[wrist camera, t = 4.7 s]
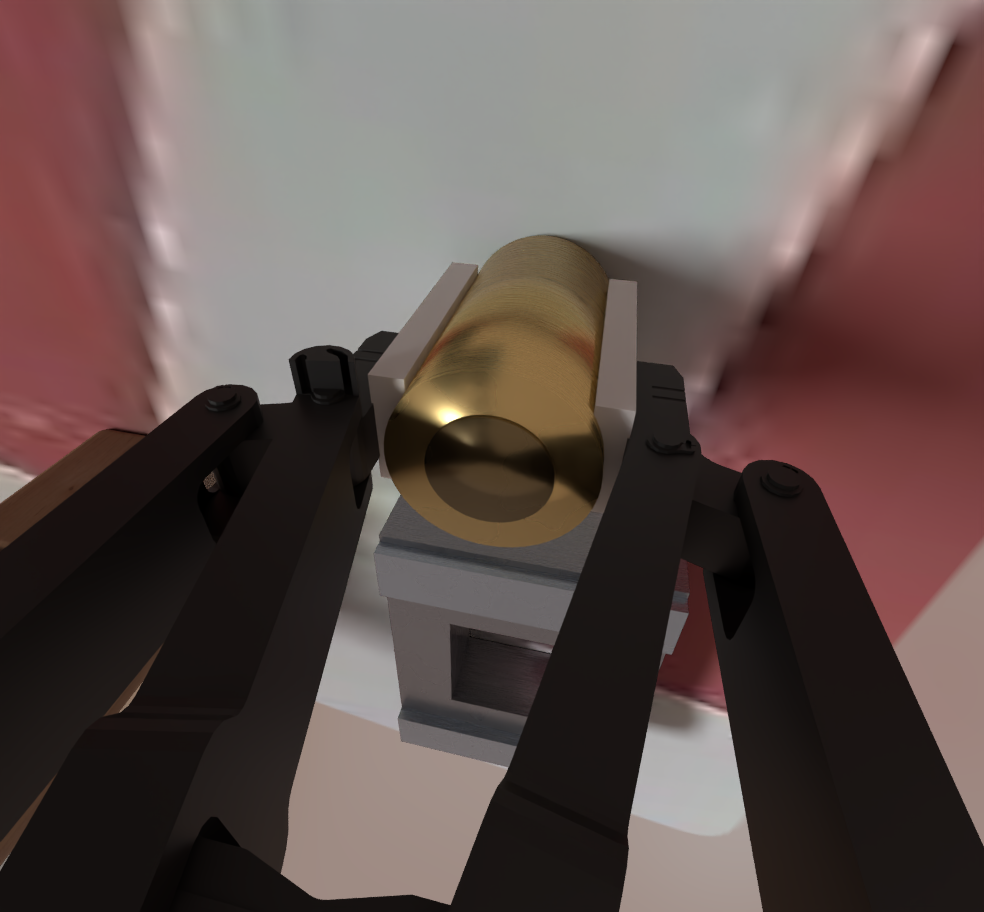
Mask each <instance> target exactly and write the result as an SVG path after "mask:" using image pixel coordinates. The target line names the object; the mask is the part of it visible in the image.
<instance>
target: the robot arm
mask: <svg viewBox="0 0 984 912" xmlns="http://www.w3.org/2000/svg"><path fill="white" fill-rule="evenodd" d="M477 275H478V265H473V264H464V263H454V262H452V264H451V265H450V266H449V268H448V269H447V270H446V272H445V273H444V274H443V275H442V277H441V278H440V279H439V281H438V282H437V283H436V285H435V286H434V287H433V289H432V290H431V291H430V293H429V294H428V295H427V297H426V298H425V299H424V301H423V302H422V303H421V305H420V306H419V307H418V309H417V310H416V311H415V313H414V314H413V315H412V316H411V318H410V319H409V320H408V322H407V323H406V324H405V326H404V327H403V328H402V330H401V331H400V332H399V333H394V332H386V331H380V332H378V333H377V334H375V335H373V336H371V337H369V338H367V339H366V340H365V341H364V342H363V343H362V345H361V346H360V347H359V348H358V351H356V352H355V353H354V354H352V353H351V351H350V350H347V349H345V348H342V347H338V346H331V345H326V346H315V347H311V348H307V349H304V350H301V351H299V352H297V353H295V354H294V355H293V356H292V357H291V358H290V359H289V363H290V368H291V372H292V376H293V381H294V385H295V389H296V394H297V395H296V396H295V398H294V400H293V402H292V403H281V404H262V405H260V402H259V399H258V395H257V393H256V392H255V391H254V390H253V389H252V388H250V387H247V386H244V385H232V384H229V385H221V386H216V387H215V388H212V389H209V390H206V391H204V392H202V393H201V394H199V395H197V396H196V397H194V398H193V399H192V400H191V401H189V402H188V403H187V404H186V405H184V406H183V407H182V408H181V409H179V410H178V411H177V412H176V413H174V414H173V415H172V416H170V417H169V418H168V419H167V420H165V421H164V422H163V423H162V424H160V425H159V426H158V427H157V428H155V429H154V430H153V431H152V432H150V433H149V434H148V435H146V436H145V437H144V438H143V439H141V440H140V441H139V442H138V443H136V444H135V445H134V446H133V447H131V448H130V449H129V450H128V451H126V452H125V453H124V454H123V455H121V456H120V457H119V458H117V459H116V460H115V461H114V462H112V463H111V464H110V465H109V466H107V467H106V468H105V469H104V470H102V471H101V472H100V473H99V474H97V475H96V476H95V477H93V478H92V479H91V480H90V481H88V482H87V483H86V484H85V485H83V486H82V487H81V488H80V489H78V490H77V491H76V492H75V493H73V494H72V495H71V496H70V497H68V498H67V499H66V500H64V501H63V502H62V503H61V504H59V505H58V506H57V507H56V508H54V509H53V510H52V511H51V512H49V513H48V514H47V515H46V516H44V517H43V518H42V519H40V520H39V521H38V522H37V523H35V524H34V525H33V526H32V527H30V528H29V529H28V530H27V531H25V532H24V533H23V534H22V535H20V536H19V537H18V538H17V539H15V540H14V541H13V542H11V543H10V544H9V545H8V546H6V547H5V548H4V549H3V550H1V551H0V842H1V841H2V840H3V839H4V837H5V836H6V835H7V834H8V833H9V831H10V830H11V829H12V828H13V827H14V825H15V824H16V823H17V822H18V820H19V819H20V818H21V817H22V816H23V814H24V813H25V812H26V811H27V809H28V808H29V807H30V806H31V804H32V803H33V802H34V801H35V800H36V798H37V797H38V796H39V795H40V793H41V792H42V791H43V790H44V789H45V787H46V786H47V785H48V784H49V782H50V781H51V780H52V779H53V778H54V776H55V775H56V774H57V775H56V776H55V778H54V780H53V781H52V783H51V785H50V787H49V788H48V790H47V792H46V793H45V795H44V797H43V799H42V800H41V802H40V804H39V805H38V807H37V809H36V811H35V812H34V814H33V816H32V817H31V819H30V821H29V823H28V824H27V826H26V828H25V829H24V831H23V833H22V835H21V836H20V838H19V840H18V841H17V843H16V845H15V847H14V848H13V850H12V852H11V853H10V856H9V857H8V859H7V861H6V862H5V864H4V866H3V867H2V869H1V871H0V912H619V909H620V903H621V898H622V892H623V886H624V881H625V874H626V869H627V860H628V850H629V846H628V838H627V835H628V826H629V820H630V814H631V809H632V804H633V799H634V794H635V789H636V783H637V778H638V773H639V768H640V763H641V758H642V753H643V748H644V743H645V738H646V732H647V727H648V722H649V717H650V712H651V707H652V702H653V697H654V692H655V687H656V681H657V676H658V671H659V666H660V661H661V656H662V651H663V646H664V641H665V636H666V630H667V625H668V620H669V615H670V610H671V605H672V600H673V595H674V590H675V585H676V580H677V574H678V569H679V564H680V559H683V560H686V561H688V562H690V563H693V564H695V565H697V566H700V567H702V568H703V575H704V581H705V587H706V592H707V598H708V604H709V609H710V615H711V621H712V626H713V632H714V637H715V643H716V649H717V654H718V660H719V666H720V671H721V677H722V683H723V688H724V694H725V700H726V705H727V711H728V717H729V722H730V728H731V734H732V739H733V745H734V750H735V756H736V762H737V767H738V773H739V779H740V784H741V790H742V796H743V801H744V807H745V813H746V818H747V824H748V829H749V835H750V841H751V846H752V852H753V858H754V863H755V869H756V874H757V880H758V886H759V892H760V897H761V902H762V908H763V912H984V846H983V844H982V842H981V839H980V838H979V835H978V833H977V831H976V829H975V827H974V824H973V822H972V820H971V818H970V815H969V814H968V811H967V809H966V807H965V804H964V803H963V800H962V798H961V796H960V794H959V791H958V789H957V787H956V785H955V783H954V780H953V778H952V776H951V774H950V772H949V769H948V767H947V765H946V763H945V761H944V758H943V756H942V754H941V752H940V750H939V747H938V745H937V743H936V741H935V739H934V736H933V734H932V732H931V731H930V728H929V726H928V723H927V721H926V719H925V717H924V715H923V712H922V710H921V708H920V706H919V704H918V701H917V699H916V697H915V695H914V693H913V691H912V688H911V686H910V684H909V682H908V680H907V677H906V675H905V673H904V671H903V669H902V667H901V664H900V662H899V660H898V658H897V656H896V653H895V651H894V649H893V647H892V644H891V642H890V640H889V638H888V636H887V633H886V631H885V629H884V627H883V625H882V622H881V620H880V618H879V616H878V614H877V612H876V609H875V607H874V605H873V603H872V601H871V598H870V596H869V594H868V592H867V590H866V587H865V585H864V583H863V581H862V579H861V576H860V574H859V572H858V570H857V568H856V565H855V563H854V561H853V559H852V557H851V555H850V552H849V550H848V548H847V546H846V544H845V541H844V539H843V537H842V535H841V533H840V530H839V528H838V526H837V524H836V522H835V519H834V517H833V515H832V513H831V511H830V509H829V506H828V504H827V502H826V500H825V498H824V495H823V493H822V491H821V489H820V487H819V486H818V484H817V483H816V482H815V480H814V479H813V478H812V477H810V476H809V475H808V474H806V473H805V472H804V471H802V470H801V469H799V468H796V467H795V466H792V465H790V464H787V463H783V462H779V461H774V460H758V461H755V462H752V463H749V464H748V465H747V466H746V467H745V468H744V470H743V471H742V473H740V472H737V471H735V470H732V469H729V468H726V467H723V466H721V465H719V464H716V463H714V462H712V461H710V460H709V459H707V458H706V457H704V456H703V455H702V454H701V447H700V444H699V442H698V441H697V440H696V439H695V437H694V436H692V435H691V434H690V429H689V421H688V413H687V405H686V397H685V392H684V391H685V388H684V380H683V377H682V376H681V375H680V373H679V372H678V371H677V370H676V369H675V367H674V366H671V365H663V364H655V363H647V362H639V361H637V282H636V281H626V280H617V279H610V280H609V286H608V292H607V301H606V310H605V319H604V328H603V337H602V346H601V355H600V364H599V373H598V382H597V390H596V399H595V408H594V416H595V418H596V420H597V422H598V425H599V427H600V430H601V434H602V438H603V443H604V465H603V478H602V487H601V490H600V493H599V497H598V499H597V501H596V503H595V505H594V507H593V509H592V510H591V511H592V512H598V513H603V515H602V518H601V521H600V523H599V526H598V529H597V531H596V534H595V537H594V540H593V542H592V545H591V548H590V550H589V553H588V556H587V558H586V561H585V564H584V566H583V569H582V572H581V575H580V577H579V580H578V583H577V585H576V588H575V591H574V593H573V596H572V599H571V601H570V604H569V607H568V610H567V612H566V615H565V618H564V620H563V623H562V626H561V628H560V631H559V634H558V636H557V639H556V642H555V645H554V647H553V650H552V653H551V655H550V658H549V661H548V663H547V666H546V669H545V671H544V674H543V677H542V680H541V682H540V685H539V688H538V690H537V693H536V696H535V698H534V701H533V704H532V706H531V709H530V712H529V715H528V717H527V720H526V723H525V725H524V728H523V731H522V733H521V736H520V739H519V741H518V744H517V747H516V750H515V752H514V755H513V758H512V760H511V763H510V765H509V768H508V770H507V773H506V775H505V777H504V779H503V780H502V781H501V783H500V784H499V785H498V787H497V789H496V791H495V793H494V795H493V797H492V799H491V801H490V804H489V806H488V809H487V811H486V814H485V817H484V819H483V821H482V824H481V827H480V829H479V832H478V834H477V837H476V840H475V842H474V845H473V848H472V850H471V853H470V856H469V858H468V861H467V864H466V866H465V869H464V871H463V874H462V877H461V879H460V882H459V884H458V887H457V890H456V892H455V895H454V898H453V900H452V903H451V905H448V904H444V903H440V902H437V901H433V900H429V899H426V898H422V897H419V896H415V895H400V896H383V897H367V898H352V899H336V900H320V899H316V898H314V897H312V896H310V895H309V894H307V893H306V892H305V891H303V890H302V889H301V888H299V887H298V886H296V885H295V884H294V883H292V882H291V881H290V880H288V879H287V878H286V877H284V876H283V875H281V874H280V873H281V869H282V866H283V860H284V856H285V851H286V845H287V837H288V807H289V798H290V794H291V789H292V785H293V781H294V777H295V774H296V770H297V766H298V763H299V759H300V755H301V752H302V748H303V744H304V741H305V737H306V733H307V729H308V725H309V722H310V718H311V715H312V711H313V707H314V704H315V700H316V696H317V692H318V689H319V685H320V681H321V678H322V674H323V670H324V667H325V663H326V659H327V655H328V652H329V648H330V644H331V641H332V637H333V633H334V630H335V626H336V622H337V618H338V615H339V611H340V607H341V604H342V600H343V596H344V593H345V589H346V585H347V581H348V578H349V574H350V570H351V567H352V563H353V559H354V556H355V552H356V548H357V544H358V541H359V537H360V533H361V530H362V526H363V522H364V519H365V515H366V511H367V507H368V504H369V500H370V496H371V493H372V489H373V484H372V475H371V470H372V469H373V467H374V465H375V464H376V462H377V460H378V458H379V465H380V473H381V477H385V478H391V477H390V474H389V471H388V469H387V466H386V461H385V456H384V435H385V430H386V426H387V423H388V420H389V418H390V416H391V414H392V412H393V410H394V409H395V407H396V406H397V404H398V402H399V401H400V399H401V397H402V396H403V394H404V393H405V391H406V389H407V388H408V386H409V385H410V383H411V381H412V380H413V378H414V377H415V375H416V373H417V372H418V370H419V369H420V367H421V365H422V364H423V362H424V361H425V359H426V357H427V356H428V354H429V353H430V351H431V349H432V348H433V346H434V344H435V343H436V341H437V340H438V338H439V336H440V335H441V333H442V332H443V330H444V328H445V327H446V325H447V324H448V322H449V320H450V319H451V317H452V316H453V314H454V312H455V311H456V309H457V308H458V306H459V304H460V303H461V301H462V300H463V298H464V296H465V295H466V293H467V291H468V290H469V288H470V287H471V285H472V283H473V282H474V280H475V279H476V277H477ZM212 471H213V473H214V476H215V479H216V481H217V482H216V483H215V484H214V485H213V486H212V487H211V488H209V489H208V490H207V489H206V487H205V485H204V483H203V480H204V479H205V478H206V477H207V476H208V475H209V474H210V473H211V472H212ZM162 644H163V645H162ZM161 645H162V647H161V649H160V651H159V653H158V654H157V656H156V658H155V660H154V662H153V664H152V666H151V668H150V669H149V671H148V673H147V675H146V677H145V679H144V681H143V683H142V684H141V686H140V689H139V690H138V692H137V694H136V696H135V697H134V699H133V700H132V702H131V703H130V704H129V706H128V707H126V708H125V709H124V710H123V711H122V712H120V713H116V714H112V715H108V716H104V715H105V714H106V713H107V711H108V710H109V709H110V708H111V706H112V705H113V704H114V703H115V702H116V700H117V699H118V698H119V697H120V695H121V694H122V693H123V692H124V691H125V689H126V688H127V687H128V686H129V684H130V683H131V682H132V681H133V680H134V678H135V677H136V676H137V675H138V673H139V672H140V671H141V670H142V669H143V667H144V666H145V665H146V664H147V662H148V661H149V660H150V659H151V657H152V656H153V655H154V654H155V653H156V651H157V650H158V649H159V648H160V646H161ZM103 716H104V717H103Z"/></svg>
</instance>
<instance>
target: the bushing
mask: <svg viewBox="0 0 984 912" xmlns="http://www.w3.org/2000/svg"><path fill="white" fill-rule="evenodd" d="M608 286H609V279H608V277H607V275H606V273H605V271H604V270H603V268H602V267H601V265H600V264H599V263H598V262H597V261H596V259H595V258H594V257H593V256H592V255H590V254H589V253H588V252H587V251H586V250H584V249H583V248H581V247H580V246H578V245H576V244H574V243H572V242H570V241H568V240H565V239H561V238H558V237H552V236H531V237H525V238H521V239H518V240H515V241H513V242H511V243H509V244H507V245H505V246H503V247H502V248H500V249H499V250H498V251H496V252H495V253H494V254H493V255H492V256H491V257H490V258H489V259H488V260H487V262H486V263H485V264H484V266H483V267H482V269H481V270H480V272H479V273H478V275H477V277H476V279H475V280H474V282H473V283H472V285H471V287H470V288H469V290H468V291H467V293H466V295H465V296H464V298H463V300H462V301H461V303H460V304H459V306H458V308H457V309H456V311H455V312H454V314H453V316H452V317H451V319H450V320H449V322H448V324H447V325H446V327H445V328H444V330H443V332H442V333H441V335H440V336H439V338H438V340H437V341H436V343H435V344H434V346H433V348H432V349H431V351H430V353H429V354H428V356H427V357H426V359H425V361H424V362H423V364H422V365H421V367H420V369H419V370H418V372H417V373H416V375H415V377H414V378H413V380H412V381H411V383H410V385H409V386H408V388H407V389H406V391H405V393H404V394H403V396H402V397H401V399H400V401H399V402H398V404H397V406H396V407H395V409H394V410H393V412H392V414H391V416H390V418H389V420H388V423H387V426H386V430H385V435H384V456H385V461H386V466H387V469H388V471H389V474H390V477H391V479H392V481H393V483H394V485H395V486H396V488H397V489H398V491H399V492H400V494H401V495H402V497H403V498H404V499H405V500H406V501H407V503H408V504H409V505H410V506H411V507H412V508H413V509H414V510H415V511H416V512H417V513H418V514H420V515H421V516H422V517H424V518H425V519H426V520H427V521H429V522H430V523H432V524H433V525H435V526H437V527H438V528H440V529H442V530H444V531H446V532H448V533H449V534H452V535H454V536H457V537H459V538H461V539H464V540H468V541H471V542H474V543H478V544H483V545H488V546H496V547H526V546H532V545H538V544H541V543H545V542H548V541H551V540H553V539H556V538H558V537H560V536H562V535H564V534H566V533H568V532H569V531H571V530H572V529H574V528H575V527H576V526H578V525H579V524H580V523H581V522H582V521H583V520H584V519H585V518H586V517H587V516H588V514H589V513H590V511H591V510H592V509H593V507H594V505H595V503H596V501H597V499H598V497H599V493H600V490H601V487H602V478H603V465H604V443H603V438H602V434H601V430H600V427H599V425H598V422H597V420H596V418H595V416H594V408H595V399H596V390H597V382H598V373H599V364H600V355H601V346H602V337H603V328H604V319H605V310H606V301H607V292H608Z"/></svg>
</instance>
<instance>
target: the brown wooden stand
mask: <svg viewBox="0 0 984 912" xmlns="http://www.w3.org/2000/svg"><path fill="white" fill-rule="evenodd" d="M144 437H145V436H144V435H138V434H132V433H126V432H121V431H115V430H109V429H106V430H102V431H99V432H97V433H96V434H95V435H93V436H92V437H91V438H89V439H88V440H86V441H85V442H84V443H82V444H81V445H80V446H78V447H77V448H75V449H74V450H73V451H71V452H70V453H69V454H67V455H66V456H65V457H63V458H62V459H60V460H59V461H58V462H56V463H55V464H54V465H52V466H51V467H50V468H48V469H47V470H45V471H44V472H43V473H41V474H40V475H39V476H37V477H36V478H34V479H33V480H32V481H30V482H29V483H28V484H26V485H25V486H24V487H22V488H21V489H19V490H18V491H17V492H15V493H14V494H13V495H11V496H10V497H8V498H7V499H6V500H4V501H3V502H2V503H0V551H1V550H3V549H4V548H5V547H6V546H8V545H9V544H10V543H11V542H13V541H14V540H15V539H17V538H18V537H19V536H20V535H22V534H23V533H24V532H25V531H27V530H28V529H29V528H30V527H32V526H33V525H34V524H35V523H37V522H38V521H39V520H40V519H42V518H43V517H44V516H46V515H47V514H48V513H49V512H51V511H52V510H53V509H54V508H56V507H57V506H58V505H59V504H61V503H62V502H63V501H64V500H66V499H67V498H68V497H70V496H71V495H72V494H73V493H75V492H76V491H77V490H78V489H80V488H81V487H82V486H83V485H85V484H86V483H87V482H88V481H90V480H91V479H92V478H93V477H95V476H96V475H97V474H99V473H100V472H101V471H102V470H104V469H105V468H106V467H107V466H109V465H110V464H111V463H112V462H114V461H115V460H116V459H117V458H119V457H120V456H121V455H123V454H124V453H125V452H126V451H128V450H129V449H130V448H131V447H133V446H134V445H135V444H136V443H138V442H139V441H140V440H141V439H143V438H144ZM162 645H163V644H162ZM162 645H161V646H160V648H159V649H158V650H157V651H156V653H155V654H154V655H153V656H152V657H151V659H150V660H149V661H148V662H147V664H146V665H145V666H144V667H143V669H142V670H141V671H140V672H139V673H138V675H137V676H136V677H135V678H134V680H133V681H132V682H131V683H130V684H129V686H128V687H127V688H126V689H125V691H124V692H123V693H122V694H121V695H120V697H119V698H118V699H117V700H116V702H115V703H114V704H113V705H112V706H111V708H110V709H109V710H108V711H107V713H106V714H105V715H104V716H108V715H112V714H116V713H119V711H120V710H121V709H122V708H123V706H124V705H125V704H126V702H127V701H128V700H129V699H130V697H131V696H132V694H133V693H134V692H135V691H136V689H137V688H138V687H139V686H140V684H141V683H142V682H143V680H144V679H145V677H146V675H147V673H148V671H149V669H150V668H151V666H152V664H153V662H154V660H155V658H156V656H157V654H158V653H159V651H160V649H161V647H162ZM104 716H103V717H104ZM56 775H57V774H56ZM56 775H55V776H56ZM55 776H54V778H55ZM54 778H53V779H52V780H51V781H50V782H49V784H48V785H47V786H46V787H45V789H44V790H43V791H42V792H41V793H40V795H39V796H38V797H37V798H36V800H35V801H34V802H33V803H32V804H31V806H30V807H29V808H28V809H27V811H26V812H25V813H24V814H23V816H22V817H21V818H20V819H19V820H18V822H17V823H16V824H15V825H14V827H13V828H12V829H11V830H10V831H9V833H8V834H7V835H6V836H5V837H4V839H3V840H2V841H1V842H0V866H1V865H2V863H3V862H4V861H5V859H6V858H7V856H8V855H9V854H10V853H11V852H12V850H13V848H14V847H15V845H16V843H17V841H18V840H19V838H20V836H21V835H22V833H23V831H24V829H25V828H26V826H27V824H28V823H29V821H30V819H31V817H32V816H33V814H34V812H35V811H36V809H37V807H38V805H39V804H40V802H41V800H42V799H43V797H44V795H45V793H46V792H47V790H48V788H49V787H50V785H51V783H52V781H53V780H54Z"/></svg>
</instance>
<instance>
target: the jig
mask: <svg viewBox="0 0 984 912" xmlns="http://www.w3.org/2000/svg"><path fill="white" fill-rule="evenodd" d="M602 515H603V513H598V512H592V511H590V513H589V514H588V516H587V517H586V518H585V519H584V520H583V521H582V522H581V523H580V524H579V525H578V526H576V527H575V528H574V529H572V530H571V531H569V532H568V533H566V534H564V535H562V536H560V537H558V538H556V539H553V540H551V541H548V542H545V543H541V544H538V545H532V546H526V547H496V546H488V545H483V544H478V543H474V542H471V541H468V540H464V539H461V538H459V537H457V536H454V535H452V534H449V533H448V532H446V531H444V530H442V529H440V528H438V527H437V526H435V525H433V524H432V523H430V522H429V521H427V520H426V519H425V518H424V517H422V516H421V515H420V514H418V513H417V512H416V511H415V510H414V509H413V508H412V507H411V506H410V505H409V504H408V503H407V501H406V500H405V499H404V498H403V497H402V495H400V497H399V499H398V500H397V502H396V504H395V506H394V508H393V510H392V512H391V514H390V516H389V518H388V520H387V522H386V523H385V525H384V527H383V529H382V531H381V533H380V535H379V538H380V542H379V544H378V546H377V548H376V550H375V552H374V558H375V565H376V572H377V579H378V586H379V592H380V595H381V596H386V597H387V598H388V606H389V613H390V621H391V628H392V636H393V643H394V651H395V659H396V666H397V674H398V681H399V689H400V696H401V704H402V708H401V711H400V714H399V716H398V723H399V730H400V736H401V741H402V742H406V743H411V744H415V745H419V746H423V747H427V748H431V749H435V750H439V751H444V752H448V753H452V754H456V755H460V756H464V757H468V758H472V759H476V760H481V761H485V762H489V763H493V764H497V765H501V766H505V767H509V765H510V763H511V760H512V758H513V755H514V752H515V750H516V747H517V744H518V741H519V739H520V736H521V733H522V731H523V728H524V725H525V723H526V720H527V717H528V715H529V712H530V709H531V706H532V704H533V701H534V698H535V696H536V693H537V690H538V688H539V685H540V682H541V680H542V677H543V674H544V671H545V669H546V666H547V663H548V661H549V658H550V655H551V654H548V653H543V652H538V651H533V650H529V649H524V648H519V647H514V646H509V645H505V644H500V643H495V642H490V641H486V640H481V639H476V638H471V637H469V629H470V628H472V629H477V630H482V631H486V632H491V633H496V634H501V635H506V636H511V637H515V638H520V639H525V640H530V641H535V642H539V643H544V644H549V645H555V642H556V639H557V636H558V634H559V631H560V628H561V626H562V623H563V620H564V618H565V615H566V612H567V610H568V607H569V604H570V601H571V599H572V596H573V593H574V591H575V588H576V585H577V583H578V580H579V577H580V575H581V572H582V569H583V566H584V564H585V561H586V558H587V556H588V553H589V550H590V548H591V545H592V542H593V540H594V537H595V534H596V531H597V529H598V526H599V523H600V521H601V518H602ZM689 594H690V590H689V578H688V567H687V561H686V560H683V559H680V564H679V569H678V574H677V580H676V585H675V590H674V595H673V600H672V605H671V610H670V615H669V620H668V625H667V630H666V636H665V641H664V646H663V651H662V656H661V661H660V666H659V669H660V667H661V664H662V662H663V659H664V657H665V654H671V655H672V653H673V650H674V648H675V646H676V643H677V641H678V638H679V636H680V633H681V631H682V629H683V626H684V624H685V621H686V619H687V617H688V614H689V611H688V597H689ZM658 672H659V671H658Z"/></svg>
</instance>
